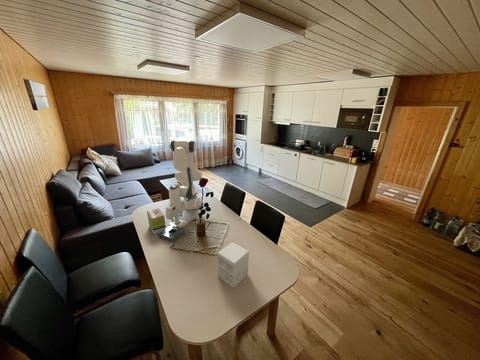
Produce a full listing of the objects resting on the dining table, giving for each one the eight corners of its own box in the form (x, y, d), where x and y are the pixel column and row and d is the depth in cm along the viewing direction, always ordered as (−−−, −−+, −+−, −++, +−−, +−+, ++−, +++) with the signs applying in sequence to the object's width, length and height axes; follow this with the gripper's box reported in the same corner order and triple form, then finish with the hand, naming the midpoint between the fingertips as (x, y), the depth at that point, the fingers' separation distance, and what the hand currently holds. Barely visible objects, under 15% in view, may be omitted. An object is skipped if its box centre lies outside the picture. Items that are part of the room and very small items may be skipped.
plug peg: (177, 223, 168) (176, 211, 164) (181, 225, 167) (180, 212, 163) (174, 226, 164) (172, 213, 161) (177, 227, 163) (176, 214, 159)
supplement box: (232, 264, 125) (232, 241, 119) (248, 274, 117) (249, 250, 112) (217, 276, 115) (216, 252, 110) (233, 288, 107) (234, 263, 102)
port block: (171, 228, 161) (171, 224, 159) (185, 233, 156) (185, 228, 154) (159, 238, 148) (158, 233, 147) (173, 243, 143) (172, 237, 142)
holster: (176, 221, 172) (176, 218, 171) (186, 224, 168) (185, 221, 167) (168, 227, 163) (168, 224, 162) (178, 230, 159) (178, 226, 158)
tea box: (148, 226, 163) (146, 210, 158) (161, 222, 169) (159, 207, 164) (153, 235, 152) (151, 218, 147) (166, 230, 158) (164, 214, 153)
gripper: (180, 198, 169) (182, 213, 173) (163, 208, 151) (165, 223, 155) (186, 200, 167) (187, 214, 171) (170, 210, 149) (171, 225, 153)
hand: (177, 219), depth 163 cm, fingers open, 8 cm apart
